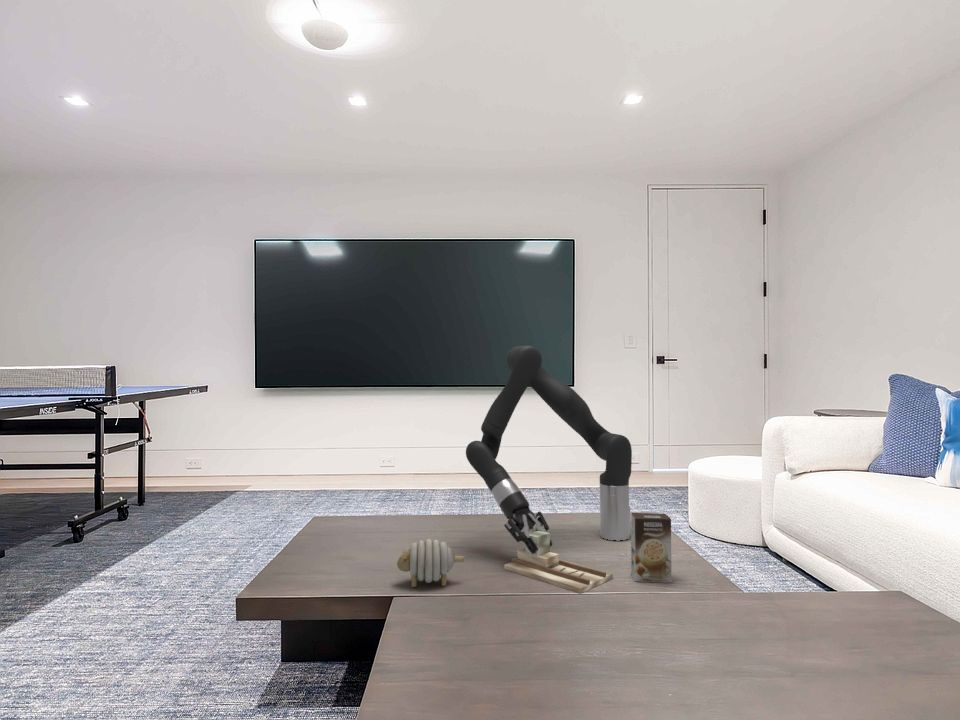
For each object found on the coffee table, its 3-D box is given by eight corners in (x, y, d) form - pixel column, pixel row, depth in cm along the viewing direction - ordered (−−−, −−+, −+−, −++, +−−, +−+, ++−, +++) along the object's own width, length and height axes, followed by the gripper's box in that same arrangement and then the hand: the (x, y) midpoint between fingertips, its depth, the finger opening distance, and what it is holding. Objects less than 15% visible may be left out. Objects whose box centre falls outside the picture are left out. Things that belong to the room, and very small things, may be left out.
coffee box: (635, 582, 144) (634, 518, 144) (631, 573, 150) (629, 512, 150) (672, 583, 143) (671, 518, 143) (666, 574, 149) (665, 512, 150)
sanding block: (530, 557, 161) (530, 528, 161) (558, 565, 153) (558, 535, 154) (517, 561, 157) (517, 532, 157) (546, 570, 150) (545, 539, 150)
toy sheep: (396, 578, 148) (396, 535, 148) (461, 574, 151) (460, 532, 151) (397, 593, 138) (397, 547, 138) (466, 588, 140) (466, 543, 141)
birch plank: (537, 557, 164) (537, 549, 164) (612, 578, 146) (612, 569, 146) (504, 569, 154) (504, 560, 154) (580, 593, 137) (580, 584, 137)
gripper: (499, 494, 156) (533, 547, 147) (533, 486, 166) (567, 536, 157) (485, 510, 159) (518, 563, 151) (519, 502, 170) (552, 551, 161)
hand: (542, 549), depth 154 cm, fingers closed on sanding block, 5 cm apart
